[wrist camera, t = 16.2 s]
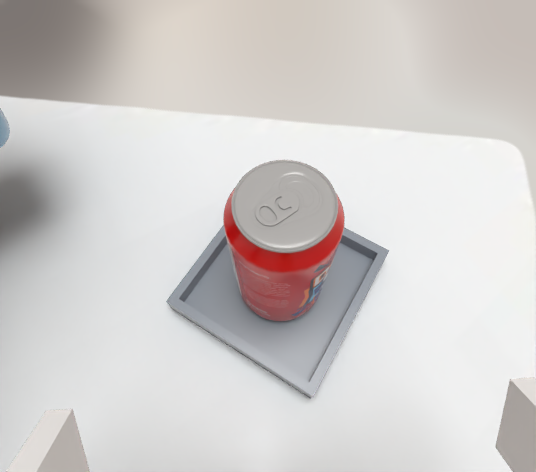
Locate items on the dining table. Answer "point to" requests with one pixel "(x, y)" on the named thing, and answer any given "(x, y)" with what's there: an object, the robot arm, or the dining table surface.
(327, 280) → the tray
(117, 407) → the dining table surface
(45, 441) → the robot arm
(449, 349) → the dining table surface
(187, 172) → the dining table surface
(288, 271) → the soda can
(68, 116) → the dining table surface
